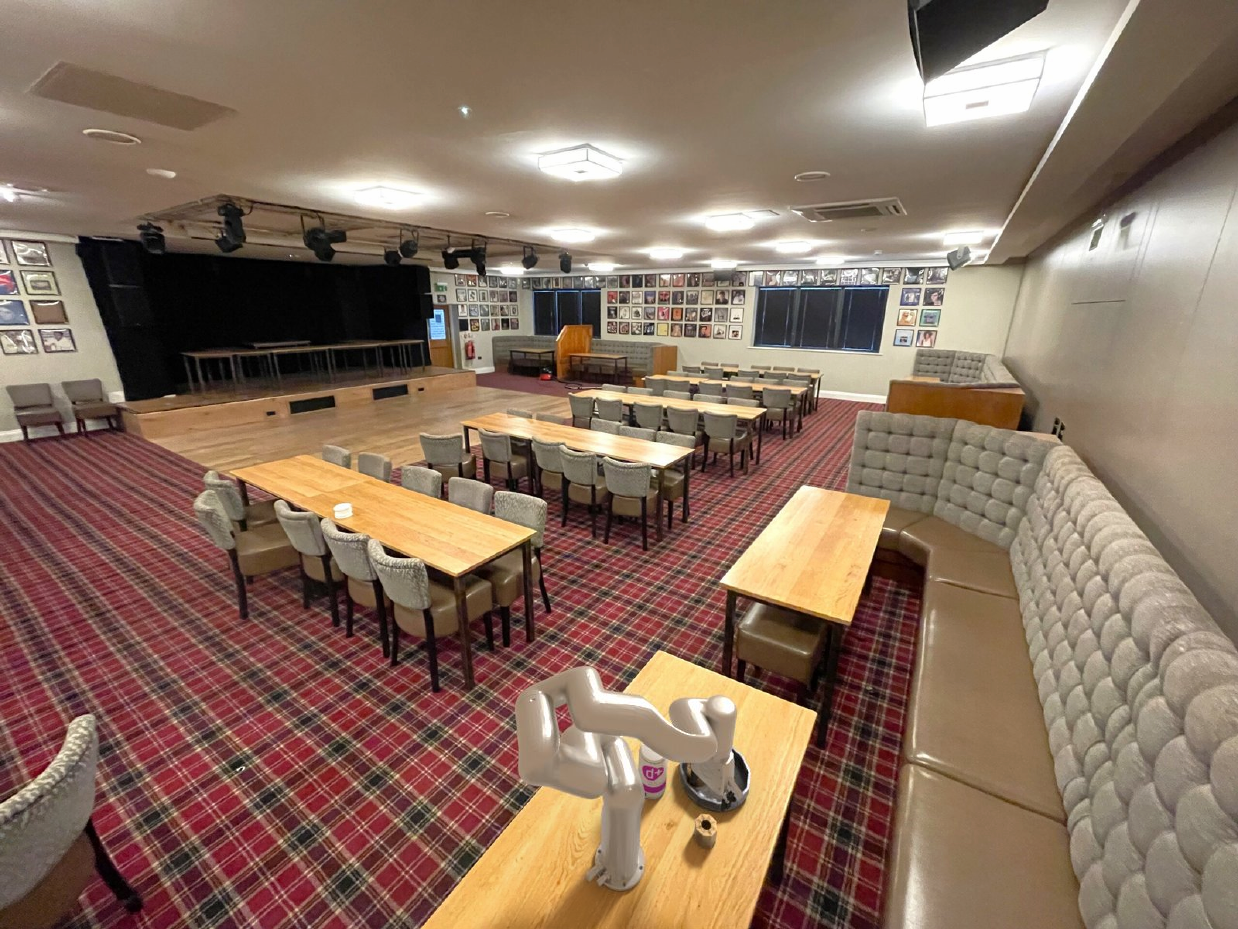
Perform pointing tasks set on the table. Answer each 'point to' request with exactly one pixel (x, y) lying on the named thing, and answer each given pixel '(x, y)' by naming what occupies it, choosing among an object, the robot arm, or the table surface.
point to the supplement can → (652, 772)
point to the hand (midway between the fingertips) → (709, 793)
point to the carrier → (706, 795)
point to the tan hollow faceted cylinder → (705, 831)
